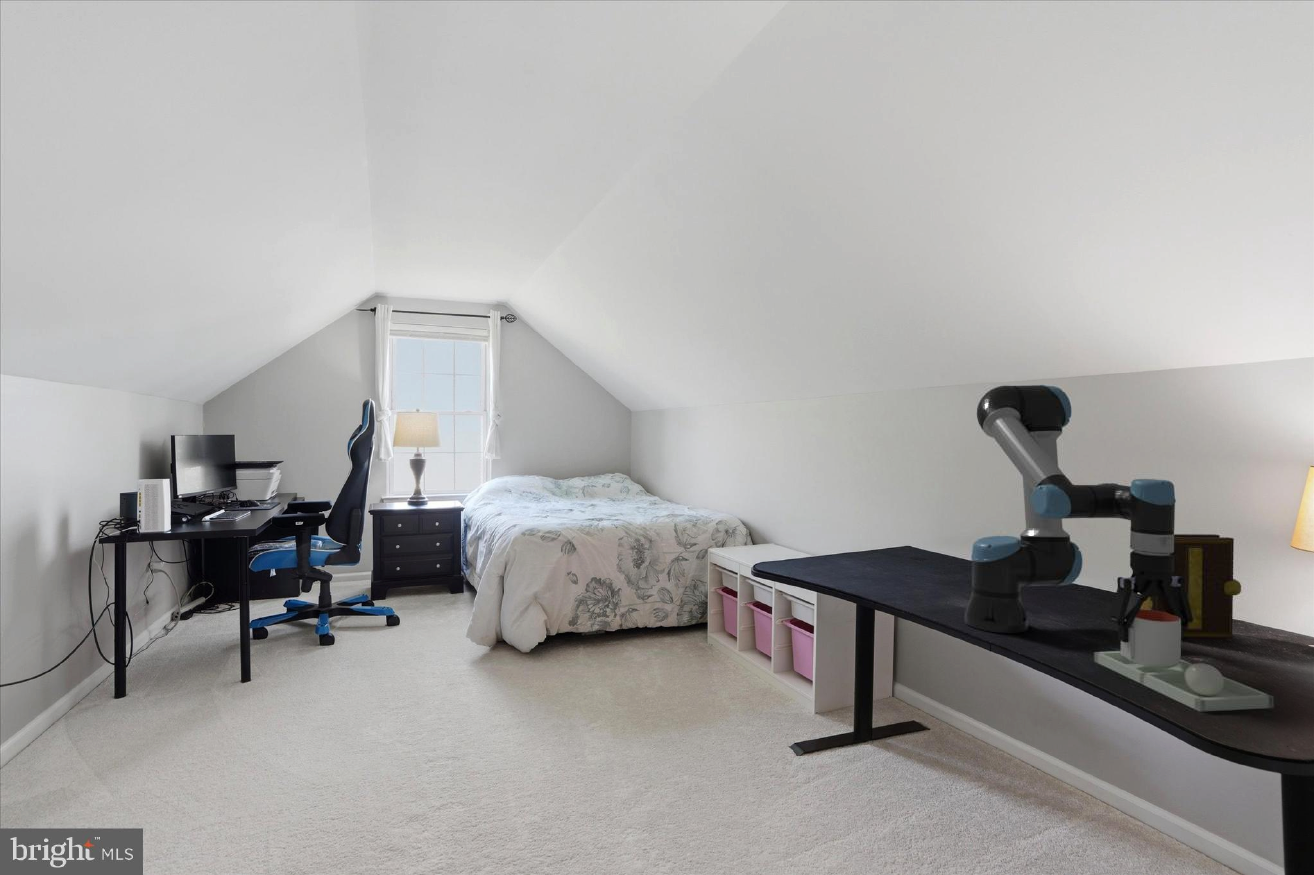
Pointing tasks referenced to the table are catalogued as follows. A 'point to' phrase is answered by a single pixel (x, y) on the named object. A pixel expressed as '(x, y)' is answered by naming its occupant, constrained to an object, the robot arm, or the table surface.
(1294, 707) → the table surface
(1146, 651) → the cup
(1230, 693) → the holder
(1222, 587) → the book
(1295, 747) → the table surface
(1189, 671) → the egg
